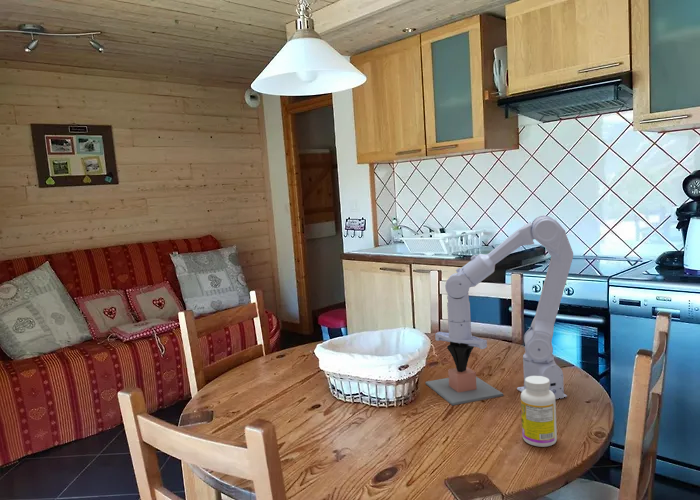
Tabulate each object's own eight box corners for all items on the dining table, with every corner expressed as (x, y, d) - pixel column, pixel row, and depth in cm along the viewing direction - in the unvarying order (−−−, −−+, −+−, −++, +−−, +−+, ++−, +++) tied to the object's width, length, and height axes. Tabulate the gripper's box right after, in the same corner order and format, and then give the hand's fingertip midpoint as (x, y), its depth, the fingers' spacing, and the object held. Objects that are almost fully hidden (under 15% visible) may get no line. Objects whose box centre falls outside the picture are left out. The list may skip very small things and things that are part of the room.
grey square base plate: (503, 395, 129) (502, 381, 128) (452, 405, 125) (451, 391, 125) (471, 375, 144) (471, 363, 144) (425, 383, 141) (424, 371, 140)
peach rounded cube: (476, 389, 133) (475, 372, 132) (458, 392, 131) (457, 375, 131) (466, 382, 138) (466, 366, 137) (449, 385, 136) (448, 369, 136)
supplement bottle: (529, 430, 110) (527, 371, 109) (561, 437, 106) (559, 376, 104) (517, 442, 105) (514, 381, 103) (550, 451, 100) (548, 387, 99)
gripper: (492, 320, 130) (494, 372, 132) (445, 313, 141) (447, 361, 142) (477, 326, 125) (479, 380, 127) (429, 318, 136) (432, 368, 137)
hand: (461, 371), depth 134 cm, fingers closed, pressing on peach rounded cube
